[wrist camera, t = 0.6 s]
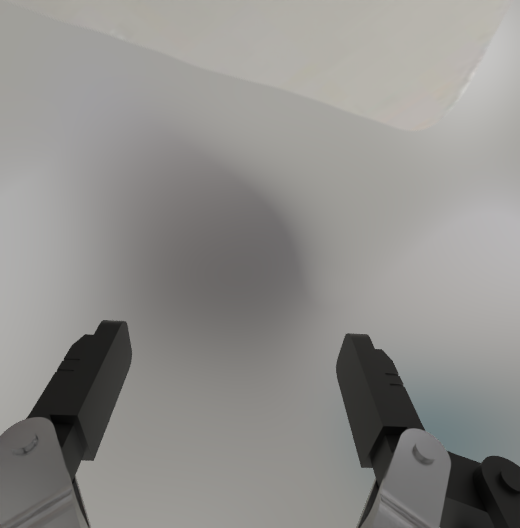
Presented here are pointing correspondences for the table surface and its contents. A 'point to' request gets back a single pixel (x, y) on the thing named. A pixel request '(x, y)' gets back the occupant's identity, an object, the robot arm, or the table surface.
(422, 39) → the table surface
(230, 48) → the table surface
